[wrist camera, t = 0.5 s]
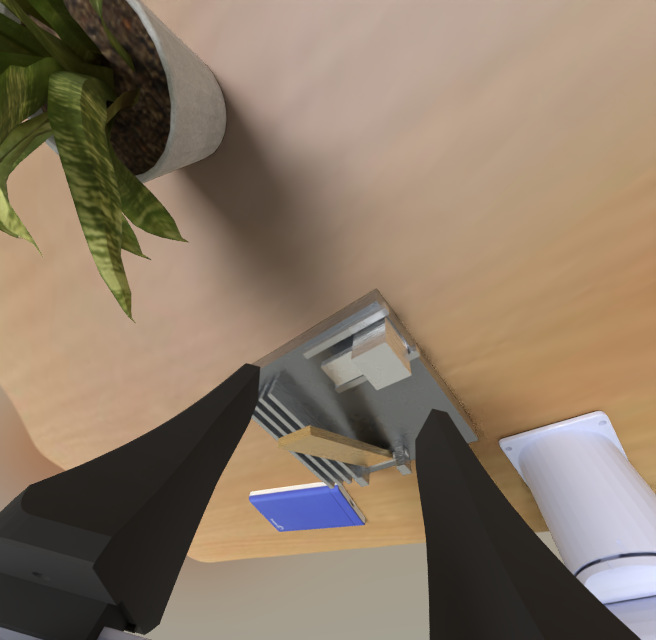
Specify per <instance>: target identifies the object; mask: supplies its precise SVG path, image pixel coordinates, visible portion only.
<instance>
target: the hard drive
mask: <svg viewBox="0 0 656 640" xmlns="http://www.w3.org/2000/svg"><path fill="white" fill-rule="evenodd" d="M249 500H250V502H251V503H252V504H253V505H254V506H255V508H257V510H258V511H259V512H260V513H261V514H262V515H263V516H264V517H265V518H266V519H267V520H268V521H269V522H270V523H271V524H272V525H273V526H274V527H275V528H276V529H277V530H278V531H280V532H283V531H295V530H308V529H320V528H333V527H346V526H358V525H365V517H364V515H363V514H362V513H361V511H360V510H359V508H358V507H357V506H356V504H355V503H354V501H353V500H352V499H351V497H350V496H349V494H348V493H347V492H346V490H345V489H344V487H343V486H338V485H337V484H336V483H335V486H334V488H333V489H330V488H329V487H328V486H327V485H326V484H325V483H324V482H319V483H311V484H304V485H297V486H289V487H282V488H275V489H267V490H260V491H253V492H251V493H250V496H249Z"/></svg>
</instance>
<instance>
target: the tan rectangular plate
mask: <svg viewBox="0 0 656 640" xmlns="http://www.w3.org/2000/svg"><path fill="white" fill-rule="evenodd" d="M278 448H279V449H284V450H289V451H293V452H298V453H303V454H307V455H312V456H317V457H321V458H326V459H330V460H335V461H340V462H344V463H349V464H354V465H358V466H363V467H369V466H372V465H375V464H379V463H382V462H385V461H388V460H392V459H394V458H393V454H392V451H389V450H386V449H382V448H379V447H376V446H373V445H370V444H367V443H364V442H361V441H358V440H354V439H351V438H348V437H345V436H342V435H339V434H336V433H333V432H329V431H326V430H323V429H320V428H317V427H314V426H311V425H309V426H307V427H304V428H302V429H300V430H297V431H295V432H293V433H290V434H288V435H286V436H283V437H281V438H279V439H278Z"/></svg>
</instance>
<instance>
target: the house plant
mask: <svg viewBox="0 0 656 640" xmlns="http://www.w3.org/2000/svg"><path fill="white" fill-rule="evenodd" d="M27 118H28V120H27V121H25V122H23V123H21V122H22V121H23V120H25V119H27ZM226 120H227V117H226V107H225V101H224V98H223V95H222V91H221V88H220V86H219V84H218V82H217V81H216V79H215V77H214V75H213V73H212V72H211V71H210V70H209V68H208V67H207V66H206V65H205V63H204V62H203V61H202V60H201V59H200V58H199V57H198V56H197V55H196V54H195V53H194V52H193V51H192V50H190V49H189V48H188V47H187V46H186V45H185V44H184V43H183V42H182V41H181V40H180V39H179V38H178V37H177V36H176V35H175V34H174V33H173V32H172V31H171V30H170V29H169V28H168V27H167V26H166V25H165V24H164V23H163V22H162V21H161V20H160V19H159V18H158V17H157V16H156V15H155V14H154V13H153V12H152V11H151V10H150V9H149V8H148V7H147V6H146V5H145V4H144V3H143V2H142V1H141V0H0V230H1V231H3V232H5V233H7V234H9V235H11V236H13V237H16V238H18V236H20V237H22V239H23V238H24V239H26V240H27V241H29V242H31V243H32V244H34V245H35V247H36V248H37V249H38V247H37V245H36V244H35V242H34V240H33V239H32V237H31V235H30V234H29V232H28V231H27V229H26V228H25V226H24V225H23V223H22V222H21V220H20V219H19V217H18V216H17V214H16V213H15V211H14V210H13V208H12V207H11V205H10V204H9V200H8V193H7V185H6V181H7V179H8V176H9V174H10V173H11V172H12V171H13V170H14V169H15V167H16V166H17V165H18V164H19V163H20V162H21V161H22V160H23V159H25V158H26V157H27V156H28V155H29V154H30V153H32V152H33V151H34V150H35V149H36V148H37V147H39V146H40V145H41V144H42V143H43V142H46V144H47V145H48V146H49V147H50V148H51V149H52V150H54V151H55V152H56V153H57V154H58V155H59V156H60V159H61V163H62V166H63V169H64V172H65V175H66V179H67V182H68V185H69V188H70V191H71V195H72V198H73V201H74V204H75V207H76V211H77V214H78V217H79V220H80V223H81V226H82V229H83V232H84V235H85V238H86V240H87V243H88V246H89V249H90V251H91V254H92V256H93V258H94V261H95V263H96V265H97V268H98V270H99V272H100V275H101V277H102V278H103V280H104V281H105V283H106V284H107V286H108V287H109V289H110V290H111V292H112V293H113V295H114V297H115V298H116V300H117V301H118V303H119V304H120V306H121V308H122V309H123V311H124V312H125V313H126V314H127V315H128V317H129V318H130V319H131V320H132V321H134V320H133V319H132V316H131V291H130V288H129V285H128V281H127V278H126V275H125V271H124V267H123V263H122V259H121V248H122V249H124V250H127V251H129V252H131V253H134V254H136V255H138V256H141V257H144V258H147V259H149V258H148V257H146V256H145V255H143V254H142V252H141V249H140V246H139V243H138V241H137V238H136V235H135V234H134V232H133V230H132V228H131V227H130V225H129V223H128V222H127V220H126V218H125V217H124V215H125V216H126V217H127V218H128V219H129V220H130V221H131V222H132V223H133V224H134V225H135V226H137V227H139V228H140V229H142V230H144V231H146V232H148V233H151V234H153V235H156V236H159V237H162V238H167V239H172V240H177V241H183V242H188V241H186V240H185V239H183V238H182V237H181V235H180V233H179V230H178V228H177V226H176V224H175V221H174V219H173V218H172V217H171V215H170V214H169V213H168V211H167V210H166V209H165V207H164V206H163V205H162V204H161V203H160V202H159V200H158V199H157V198H156V197H155V196H154V195H153V194H152V193H151V192H150V191H149V190H148V189H147V188H146V187H145V186H144V185H143V184H142V183H145V182H147V181H150V180H152V179H155V178H157V177H160V176H162V175H165V174H167V173H170V172H172V171H175V170H177V169H179V168H182V167H184V166H187V165H189V164H192V163H194V162H197V161H199V160H202V159H204V158H206V157H208V156H209V155H211V154H212V153H214V152H215V151H216V149H217V148H218V147H219V145H220V144H221V142H222V139H223V136H224V134H225V128H226ZM20 123H21V124H20ZM122 212H123V213H124V215H123V214H122ZM38 251H39V249H38ZM39 252H40V251H39ZM40 254H41V252H40ZM41 255H42V254H41ZM150 260H151V259H150ZM134 322H135V321H134Z"/></svg>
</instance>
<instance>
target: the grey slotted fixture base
mask: <svg viewBox="0 0 656 640" xmlns="http://www.w3.org/2000/svg"><path fill="white" fill-rule="evenodd" d="M384 316H386V317H387V318H388V320H389V321H390V322H391V324H392V325H393V326H394V328H395V329H396V331H397V332H398V333H399V335H400V336H401V337H402V339H403V340H404V341H405V343H406V344H407V349H408V356H409V362H410V368H411V374H412V375H411V376H409V377H407V378H404V379H402V380H400V381H397V382H395V383H393V384H390V385H388V386H386V387H384V388H381V389H379V390H376V389H375V388H374V386H373V385H372V384H371V383H370V382H369V380H368V379H367V378H366V377H365V376H364V375H361V376H359V377H357V378H355V379H352V380H350V381H348V382H346V383H344V384H342V385H340V386H337V385H336V384H335V383H334V382H333V381H332V379H331V378H330V377H329V376H328V375H327V374H326V373H325V372H324V371H323V370H322V368H321V364H322V362H323V361H325V360H327V359H329V358H330V357H332V356H334V355H336V354H338V353H340V352H342V351H344V350H345V349H347V348H349V347H351V346H353V339H354V333H356V332H357V331H359V330H361V329H363V328H365V327H366V326H368V325H370V324H372V323H374V322H375V321H377V320H379V319H381V318H383V317H384ZM252 365H255V366H260V380H259V395H258V402H257V405H256V408H255V410H254V413H253V415H252V417H251V418H252V419H253V420H254V421H255V422H257V423H258V424H259V425H260V426H261V427H262V428H263V429H264V430H266V431H267V432H268V433H269V434H270V435H271V436H272V437H273V438H274V439H276V440H277V441H278V439H279V438H281V437H283V436H286V435H288V434H290V433H293V432H295V431H297V430H300V429H302V428H304V427H307V426H309V425H311V426H314V427H317V428H320V429H323V430H326V431H329V432H333V433H336V434H339V435H342V436H345V437H348V438H351V439H354V440H358V441H361V442H364V443H367V444H370V445H373V446H376V447H379V448H382V449H386V450H389V451H392V454H393V458H394V459H392V460H388V461H385V462H382V463H379V464H375V465H372V466H369V467H363V466H358V465H354V464H349V463H344V462H340V461H335V460H330V459H326V458H321V457H317V456H312V455H307V454H303V453H298V452H293V451H289V450H288V451H289V452H290V453H291V454H292V455H294V456H295V457H296V458H297V459H298V460H299V461H300V462H301V463H302V464H304V465H305V466H306V467H307V468H308V469H309V470H310V471H311V472H313V473H314V474H315V475H316V476H317V477H318V478H319V479H320V480H321V481H323V482H324V483H325V484H326V485H327V486H328V487H329V488H330V489H333V488H334V486H335V483H336V484H337V485H338V486H343V481H346V482H347V483H348V484H350V483H352V478H354V480H355V481H356V482H357V483H358V484H359V485H360V486H361V487H363V486H367V485H369V474H370V472H374V471H377V470H381V469H384V468H387V467H391V466H394V465H396V468H397V469H398V470H399V471H400V472H401V473H402V474H403V475H406V474H410V473H412V469H411V460H414V459H416V458H415V440H416V438H417V436H418V434H419V432H420V430H421V428H422V427H423V425H424V423H425V421H426V419H427V417H428V415H429V414H430V412H431V410H432V409H436V410H440V411H445V412H447V413H448V414H449V416H450V417H451V419H452V420H453V422H454V423H455V425H456V427H457V428H458V430H459V431H460V433H461V434H462V436H463V438H464V439H465V441H466V442H467V443H471V442H474V441H477V440H479V439H478V436H477V433H476V431H475V428H474V425H473V422H472V420H471V419H470V417H469V416H468V414H467V413H466V412H465V410H464V409H463V407H462V406H461V405H460V403H459V402H458V401H457V399H456V398H455V396H454V395H453V394H452V392H451V391H450V389H449V388H448V387H447V385H446V384H445V383H444V381H443V380H442V378H441V377H440V376H439V374H438V373H437V371H436V370H435V369H434V367H433V366H432V365H431V363H430V362H429V360H428V359H427V358H426V356H425V355H424V353H423V352H422V351H421V349H420V348H419V347H418V345H417V344H416V342H415V341H414V340H413V338H412V337H411V335H410V334H409V333H408V331H407V330H406V329H405V327H404V326H403V324H402V323H401V322H400V320H399V319H398V317H397V316H396V315H395V313H394V312H393V311H392V309H391V308H390V306H389V305H388V304H387V302H386V301H385V299H384V298H383V297H382V295H381V294H380V293H379V291H378V290H377V289H375V290H373V291H372V292H370V293H368V294H367V295H365V296H363V297H362V298H360V299H358V300H357V301H355V302H353V303H352V304H350V305H349V306H347V307H345V308H344V309H342V310H340V311H339V312H337V313H335V314H334V315H332V316H330V317H329V318H327V319H326V320H324V321H322V322H321V323H319V324H317V325H316V326H314V327H312V328H311V329H309V330H307V331H306V332H304V333H302V334H301V335H299V336H298V337H296V338H294V339H293V340H291V341H289V342H288V343H286V344H284V345H283V346H281V347H279V348H278V349H276V350H275V351H273V352H271V353H270V354H268V355H266V356H265V357H263V358H261V359H260V360H258V361H256V362H255V363H253V364H252Z"/></svg>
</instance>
